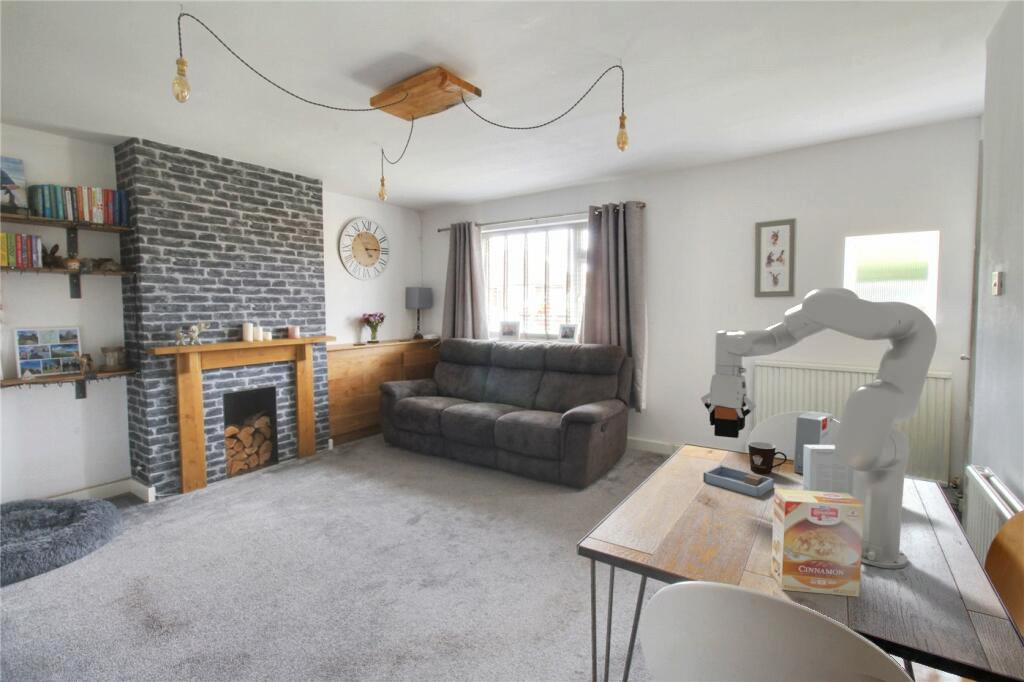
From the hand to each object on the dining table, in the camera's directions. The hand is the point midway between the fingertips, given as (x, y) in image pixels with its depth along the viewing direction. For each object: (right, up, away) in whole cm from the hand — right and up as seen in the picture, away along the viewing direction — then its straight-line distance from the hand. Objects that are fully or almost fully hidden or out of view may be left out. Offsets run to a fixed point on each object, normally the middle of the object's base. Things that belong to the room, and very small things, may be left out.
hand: (726, 426), depth 150 cm
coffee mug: (+22, -20, +20) cm, 36 cm away
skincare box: (+35, -22, 0) cm, 41 cm away
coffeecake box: (-2, -26, -46) cm, 53 cm away
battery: (0, -3, 0) cm, 3 cm away
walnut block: (+11, -21, +5) cm, 24 cm away
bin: (+8, -21, +9) cm, 24 cm away
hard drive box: (+41, -20, +24) cm, 52 cm away
